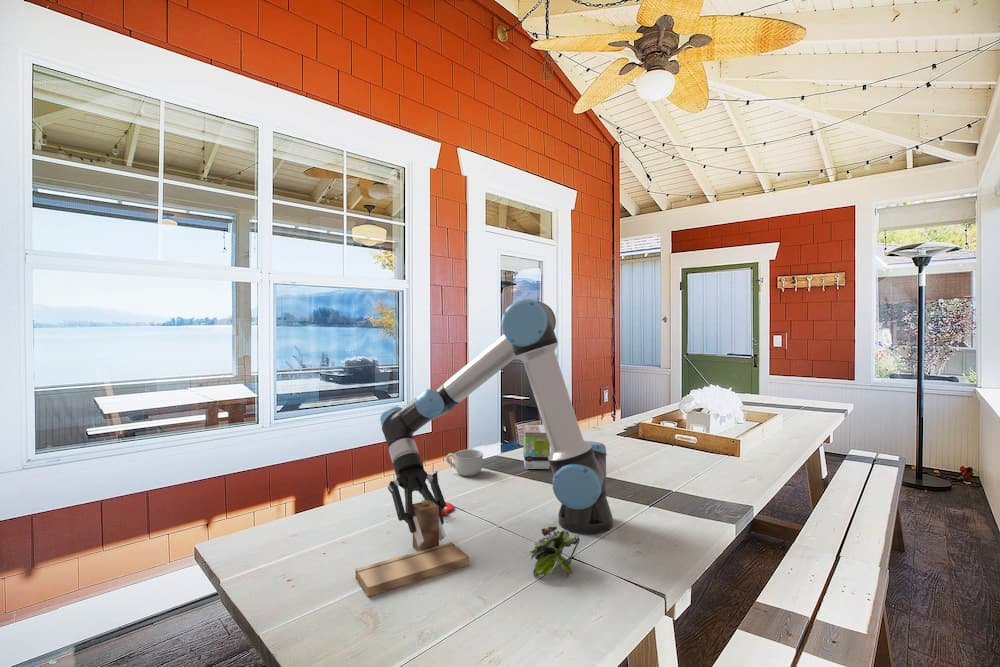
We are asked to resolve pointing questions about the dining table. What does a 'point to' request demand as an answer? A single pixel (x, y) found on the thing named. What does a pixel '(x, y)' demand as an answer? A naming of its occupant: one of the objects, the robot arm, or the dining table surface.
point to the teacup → (467, 462)
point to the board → (410, 568)
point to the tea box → (536, 447)
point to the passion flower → (552, 551)
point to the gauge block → (427, 524)
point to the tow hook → (449, 505)
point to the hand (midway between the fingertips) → (431, 540)
